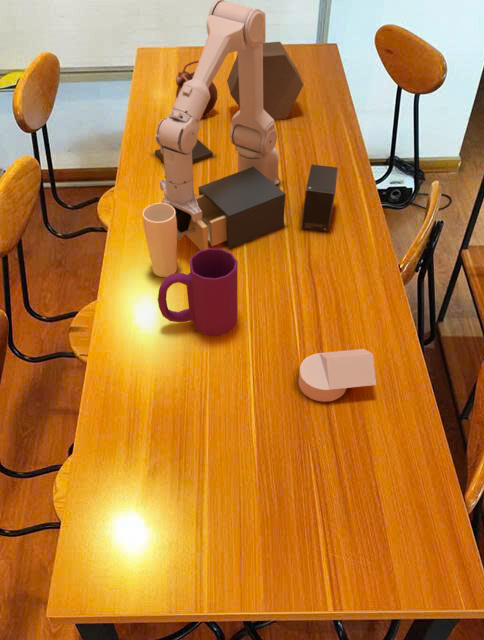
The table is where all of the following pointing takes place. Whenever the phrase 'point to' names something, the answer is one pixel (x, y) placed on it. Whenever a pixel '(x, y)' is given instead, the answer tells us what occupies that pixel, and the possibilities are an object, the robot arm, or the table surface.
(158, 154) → the control block
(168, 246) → the drinking glass
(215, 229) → the drawer
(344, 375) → the wedge on round base
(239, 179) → the drawer cabinet
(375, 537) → the table surface
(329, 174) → the small box
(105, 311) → the table surface
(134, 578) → the table surface
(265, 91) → the dark hexagonal block
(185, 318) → the mug
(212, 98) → the alarm clock
